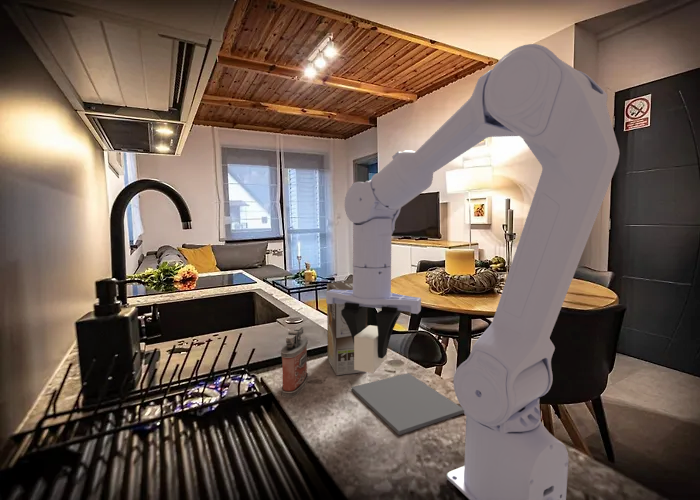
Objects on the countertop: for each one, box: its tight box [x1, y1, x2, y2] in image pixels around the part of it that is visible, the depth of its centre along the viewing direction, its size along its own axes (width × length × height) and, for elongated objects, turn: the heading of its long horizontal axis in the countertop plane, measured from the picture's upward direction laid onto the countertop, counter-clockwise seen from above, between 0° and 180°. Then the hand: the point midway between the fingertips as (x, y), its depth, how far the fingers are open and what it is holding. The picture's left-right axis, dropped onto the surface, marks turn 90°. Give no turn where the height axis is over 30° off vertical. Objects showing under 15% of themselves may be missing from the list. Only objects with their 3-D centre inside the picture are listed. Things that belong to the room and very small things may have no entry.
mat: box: [351, 372, 464, 436], centre depth 57 cm, size 14×12×1 cm
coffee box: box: [326, 281, 368, 376], centre depth 71 cm, size 9×6×16 cm
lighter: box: [280, 325, 309, 398], centre depth 62 cm, size 8×3×10 cm, turn 168°
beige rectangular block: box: [354, 324, 388, 374], centre depth 54 cm, size 3×6×5 cm, turn 155°
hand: (371, 353), depth 54 cm, fingers closed on beige rectangular block, 3 cm apart
